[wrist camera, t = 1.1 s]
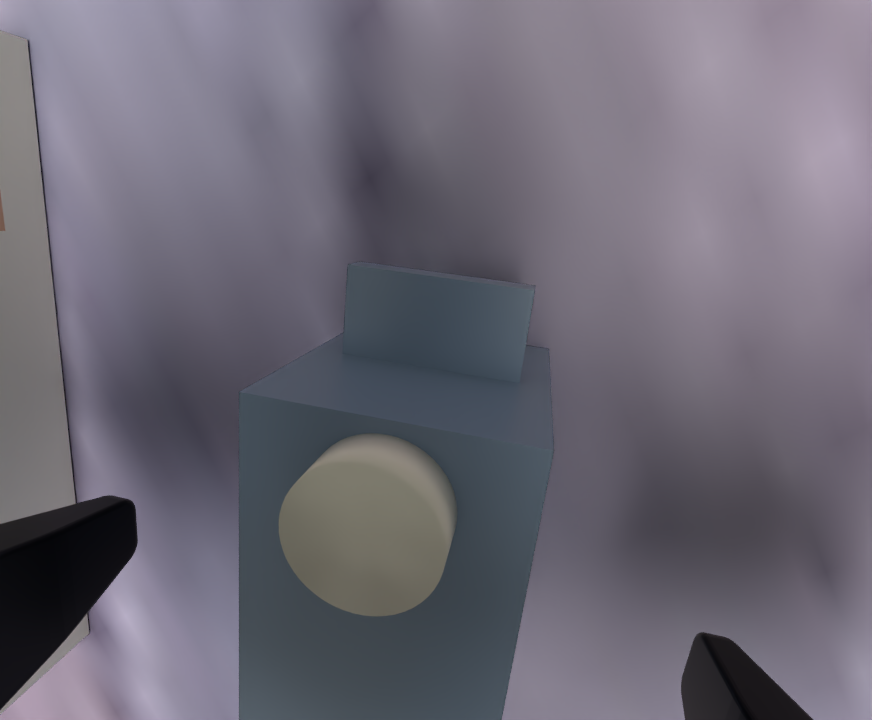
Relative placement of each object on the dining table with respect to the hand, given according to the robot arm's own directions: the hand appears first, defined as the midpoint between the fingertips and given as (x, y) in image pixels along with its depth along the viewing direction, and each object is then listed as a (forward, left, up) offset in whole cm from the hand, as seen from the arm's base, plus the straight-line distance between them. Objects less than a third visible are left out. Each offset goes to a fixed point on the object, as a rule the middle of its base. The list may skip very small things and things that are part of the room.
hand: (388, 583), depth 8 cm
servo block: (0, 0, -4) cm, 4 cm away
